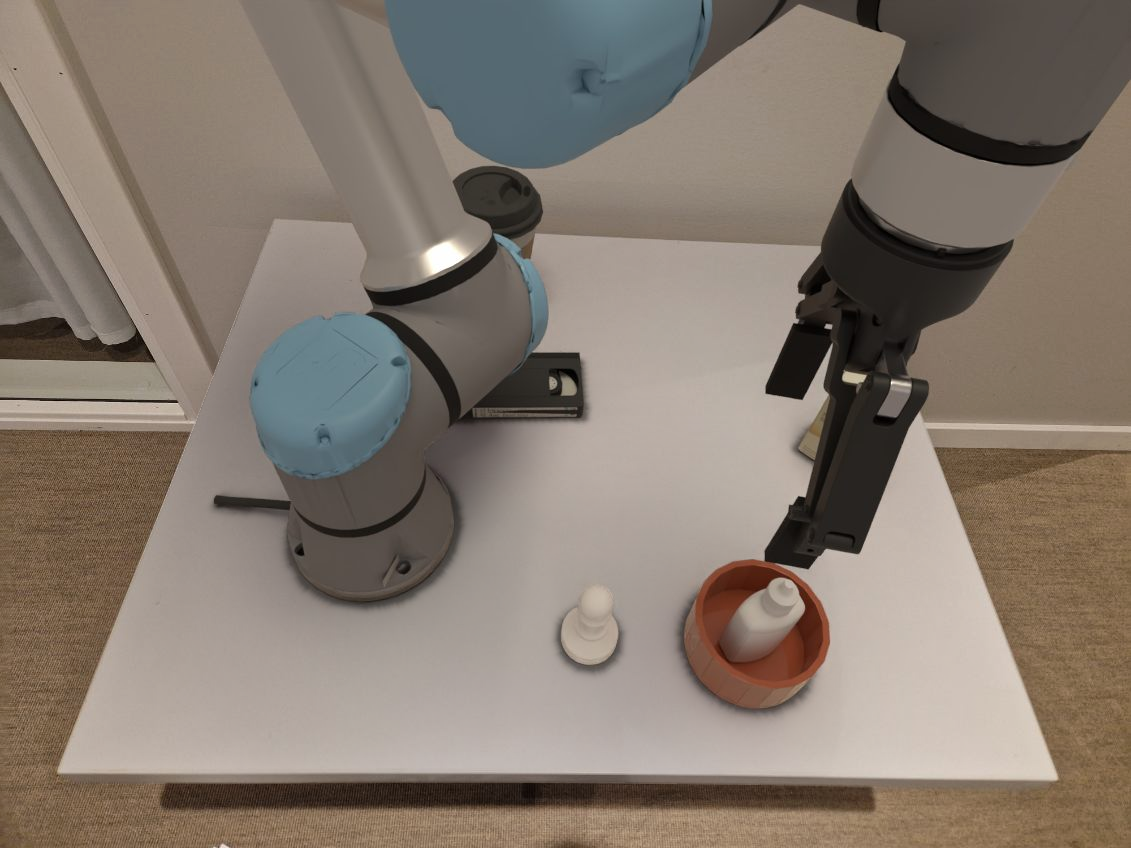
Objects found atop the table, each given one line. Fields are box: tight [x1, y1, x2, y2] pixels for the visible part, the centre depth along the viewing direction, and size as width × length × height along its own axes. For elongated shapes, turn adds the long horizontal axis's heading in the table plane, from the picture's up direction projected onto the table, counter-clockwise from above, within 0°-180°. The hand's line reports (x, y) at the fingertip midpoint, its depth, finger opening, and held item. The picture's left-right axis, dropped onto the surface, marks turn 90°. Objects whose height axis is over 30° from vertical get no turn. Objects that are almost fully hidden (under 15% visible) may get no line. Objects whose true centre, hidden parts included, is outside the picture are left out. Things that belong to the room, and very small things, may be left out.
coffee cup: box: [452, 165, 544, 260], centre depth 85 cm, size 11×11×15 cm
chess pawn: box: [560, 584, 619, 666], centre depth 61 cm, size 5×5×9 cm
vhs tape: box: [460, 351, 585, 419], centre depth 81 cm, size 14×8×2 cm, turn 93°
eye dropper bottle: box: [719, 578, 805, 663], centre depth 60 cm, size 4×6×12 cm
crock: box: [683, 558, 831, 710], centre depth 63 cm, size 11×11×6 cm
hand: (784, 469), depth 49 cm, fingers open, 13 cm apart
